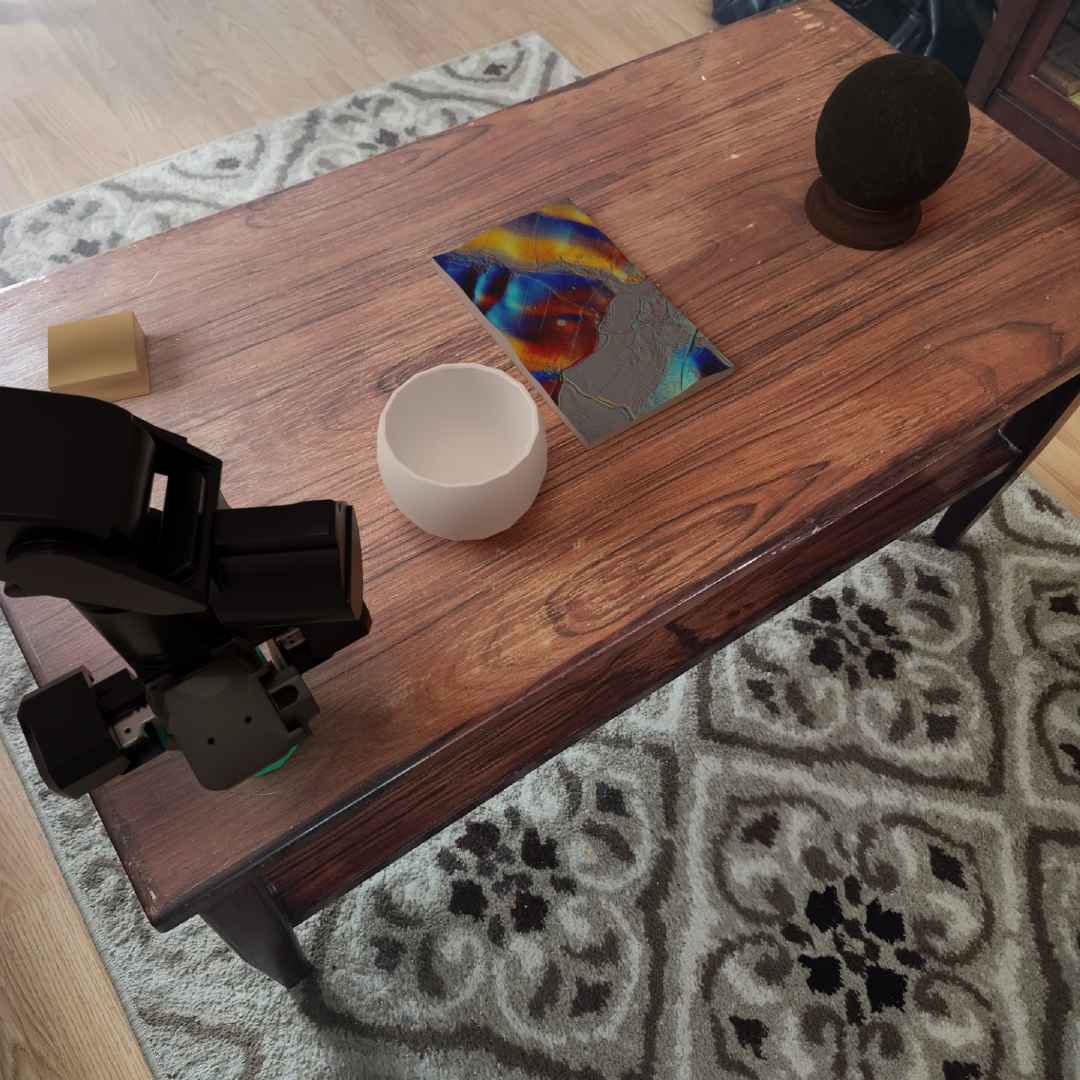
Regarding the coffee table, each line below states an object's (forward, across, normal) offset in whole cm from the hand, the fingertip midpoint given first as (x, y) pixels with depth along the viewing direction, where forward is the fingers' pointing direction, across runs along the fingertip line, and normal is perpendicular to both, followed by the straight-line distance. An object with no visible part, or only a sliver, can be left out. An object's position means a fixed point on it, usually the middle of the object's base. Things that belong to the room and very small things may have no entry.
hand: (242, 715), depth 58 cm
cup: (+4, +22, +8) cm, 24 cm away
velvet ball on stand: (+4, +72, +16) cm, 74 cm away
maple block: (+4, +3, +37) cm, 37 cm away
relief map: (+4, +40, +20) cm, 45 cm away
